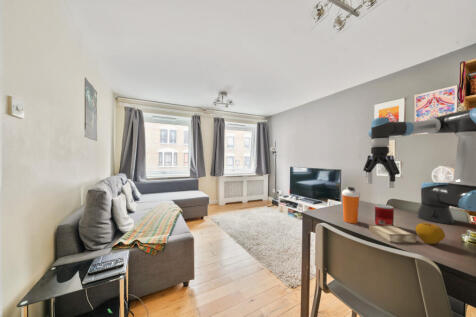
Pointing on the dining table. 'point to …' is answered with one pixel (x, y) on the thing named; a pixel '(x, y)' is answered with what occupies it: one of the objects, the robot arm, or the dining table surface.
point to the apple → (430, 233)
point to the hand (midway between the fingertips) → (379, 185)
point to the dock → (392, 233)
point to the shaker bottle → (350, 205)
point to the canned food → (384, 214)
